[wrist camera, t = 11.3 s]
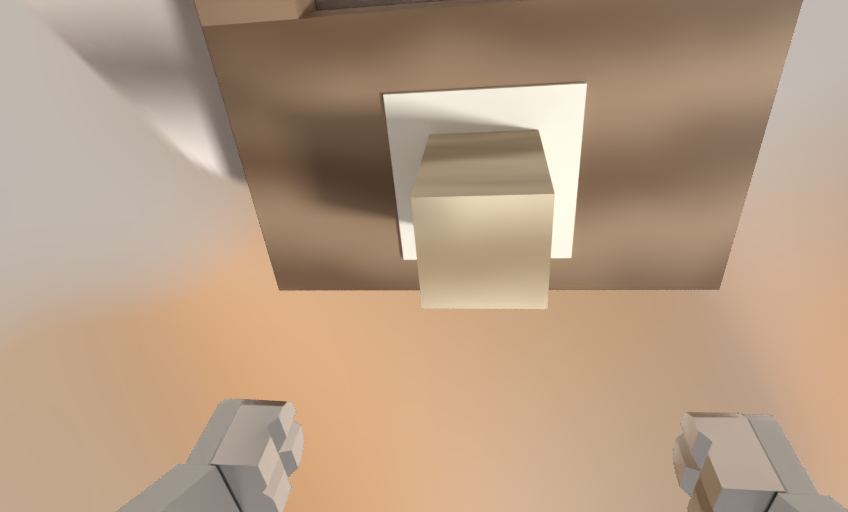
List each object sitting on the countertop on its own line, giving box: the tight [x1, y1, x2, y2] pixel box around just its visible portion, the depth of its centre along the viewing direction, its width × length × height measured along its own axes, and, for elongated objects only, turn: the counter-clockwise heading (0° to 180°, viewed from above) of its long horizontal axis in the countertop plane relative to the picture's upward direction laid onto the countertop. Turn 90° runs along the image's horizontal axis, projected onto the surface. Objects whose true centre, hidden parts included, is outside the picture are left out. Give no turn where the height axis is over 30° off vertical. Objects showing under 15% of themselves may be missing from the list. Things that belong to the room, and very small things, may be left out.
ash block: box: [411, 130, 555, 309], centre depth 19 cm, size 4×4×6 cm
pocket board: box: [194, 0, 803, 290], centre depth 20 cm, size 22×22×3 cm
